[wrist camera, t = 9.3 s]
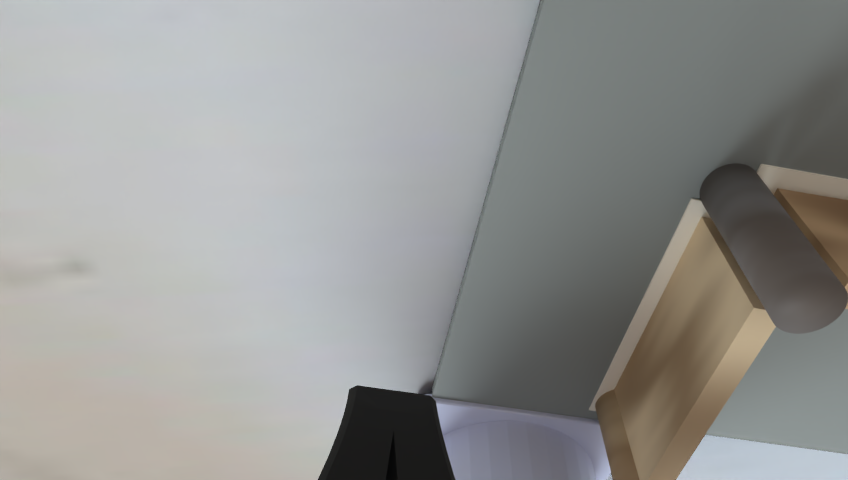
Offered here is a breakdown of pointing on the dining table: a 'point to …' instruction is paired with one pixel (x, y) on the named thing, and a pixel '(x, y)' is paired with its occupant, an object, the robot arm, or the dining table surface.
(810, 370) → the board
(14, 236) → the dining table surface
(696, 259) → the fence base
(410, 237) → the dining table surface
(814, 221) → the fence gate
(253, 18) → the dining table surface
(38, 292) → the dining table surface
